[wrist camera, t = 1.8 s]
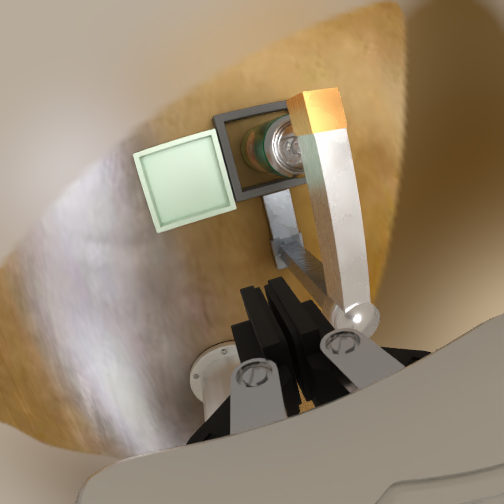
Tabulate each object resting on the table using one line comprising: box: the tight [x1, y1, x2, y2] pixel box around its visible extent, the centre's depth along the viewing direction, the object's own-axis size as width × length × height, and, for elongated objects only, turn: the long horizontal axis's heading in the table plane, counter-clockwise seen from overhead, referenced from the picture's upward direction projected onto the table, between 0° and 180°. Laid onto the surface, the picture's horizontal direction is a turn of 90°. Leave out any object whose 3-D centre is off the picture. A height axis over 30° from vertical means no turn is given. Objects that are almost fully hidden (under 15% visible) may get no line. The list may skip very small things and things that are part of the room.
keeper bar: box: [286, 88, 380, 338], centre depth 19 cm, size 17×3×3 cm, turn 15°
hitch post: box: [261, 188, 327, 308], centre depth 29 cm, size 9×4×14 cm, turn 15°
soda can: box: [241, 114, 306, 179], centre depth 27 cm, size 5×5×12 cm
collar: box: [212, 100, 307, 202], centre depth 31 cm, size 9×9×2 cm
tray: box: [133, 129, 237, 233], centre depth 31 cm, size 8×8×2 cm
